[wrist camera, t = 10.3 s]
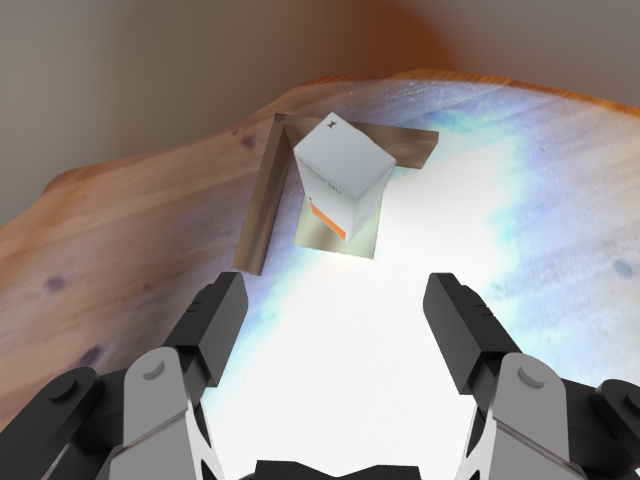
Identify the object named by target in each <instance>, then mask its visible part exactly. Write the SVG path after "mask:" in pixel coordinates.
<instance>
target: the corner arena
mask: <svg viewBox="0 0 640 480" xmlns="http://www.w3.org/2000/svg"><path fill="white" fill-rule="evenodd" d="M323 120H324V119H322V118H313V117H304V116H296V115H287V114H278V113H276V114H275V117H274V121H273V124H272V128H271V131H270V135H269V138H268V142H267V145H266V149H265V152H264V156H263V159H262V163H261V166H260V170H259V173H258V177H257V180H256V184H255V187H254V191H253V194H252V198H251V201H250V205H249V208H248V212H247V215H246V219H245V222H244V226H243V229H242V233H241V236H240V240H239V243H238V247H237V250H236V254H235V257H234V261H233V264H232V268H234V269H237V270H240V271H243V272H246V273H249V274H253V275H258V276H261V272H262V268H263V264H264V261H265V257H266V253H267V249H268V245H269V241H270V237H271V233H272V229H273V225H274V221H275V217H276V213H277V209H278V206H279V202H280V198H281V194H282V190H283V186H284V182H285V178H286V174H287V170H288V166H289V162H290V158H291V154H292V152H294V150H293V149H294V148H295V147H296V145H297V144H298V143H300V142H301V141H302V140H303V139H304V138H305V137H306V136H307V135H308V134H309V133H310V132H311V131H312V130H313V129H314V128H315V127H316V126H318V125H319V124H320V123H321V122H322V121H323ZM346 122H347V123H349V124H350V125H351V126H353V127H354V128H356V129H357V130H360V131H361V132H363V133H364V134H365V135H366V136H368V137H369V138H370V139H371V140H372V141H373V142H374V143H375V144H376V145H378V146H379V147H381V148H382V149H383V150H385V151H386V152H387V153H389V154H390V155H391V156H393V157H394V158H395V159H396V164H395V166H401V167H409V168H416V169H421V168H422V167H423V165H424V164H425V162H426V160H427V159H428V157H429V156H430V154H431V152H432V151H433V149H434V148H435V146H436V144H437V143H438V137H439V132H435V131H426V130H418V129H409V128H400V127H392V126H383V125H374V124H365V123H357V122H348V121H346ZM382 194H383V193H382ZM381 201H382V195H381V197H380V199H379V202H378V204H377V206H376V209H375V211H374V213H373V216H372V218H371V219H370V220H369V221H368V222H367V224H366V225H365V226H364V227H363V228H362V229H361V230H360V231H359V232H358V233H357V234H356V235H355V236H354V237H353V238H352V239H351V240H350V241H349V242H348V243H346V242H345V241H344V240H343V239H342V238H340V237H339V236H338V235H337V234H336V233H335V232H334V231H333V230H332V229H331V228H330V227H328V226H327V225H326V224H325V223H324V222H323V221H321V220H320V219H319V218H318V217H317V216H316V215H315V214H313V213H312V212H311V211H310V208H309V205H308V201H307V197H306V194H305V195H304V200H303V204H302V209H301V213H300V217H299V222H298V226H297V230H296V235H295V239H294V243H293V245H295V246H300V247H306V248H311V249H317V250H323V251H328V252H334V253H340V254H345V255H351V256H356V257H362V258H368V259H373V256H374V249H375V242H376V235H377V228H378V221H379V214H380V208H381Z"/></svg>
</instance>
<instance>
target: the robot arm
mask: <svg viewBox="0 0 640 480" xmlns="http://www.w3.org/2000/svg"><path fill="white" fill-rule="evenodd" d="M247 310H248V296H247V292H246V288H245V284H244V280H243V276H242V274H241V273H240V272H222V273H221V274H220V275H219V277H218V278H217V280H216V281H215V283H214V284H208V285H207V286H206V287H205V288H203V289H202V290H201V291H200V292H198V294H197V295H196V297H195V298H194V300H193V301H192V304H190V306H189V307H188V308H187V310H186V313H184V314H183V316H182V317H181V319H180V320H179V322H178V323H177V325H176V326H175V327H174V329H173V330H172V332H171V333H170V335H169V336H168V338H167V339H166V341H165V342H164V344H163V345H162V346H161V347H160V348H156V349H154V350H151V351H149V352H147V353H146V354H144V355H142V356H141V357H140V358H138V359H137V360H136V361H135V362H134V363H133V364H132V365H131V367H130V368H127V369H124V370H120V371H116V372H112V373H109V374H105V375H101V376H99V375H98V374H97V373H96V371H95V370H94V369H92V368H90V367H80V368H76V369H73V370H70V371H68V372H66V373H64V374H62V375H60V376H58V377H57V378H55V379H54V380H52V381H51V382H50V383H48V384H47V385H46V386H45V387H44V388H42V389H41V390H40V391H39V392H38V394H37V395H36V396H35V397H34V398H33V399H32V400H31V401H30V402H29V403H28V404H27V405H26V406H25V407H24V408H23V409H22V411H21V412H20V413H19V414H18V415H17V416H16V417H15V418H14V419H13V420H12V421H11V422H10V423H9V424H8V425H7V426H6V428H5V429H4V430H3V431H2V432H1V433H0V480H225V478H224V474H223V471H222V468H221V466H220V463H219V461H218V458H217V455H216V452H215V448H214V444H213V440H212V436H211V432H210V428H209V424H208V420H207V416H206V412H205V409H204V405H203V401H202V398H201V397H202V395H203V393H204V390H205V388H206V387H218V384H219V382H220V379H221V377H222V374H223V371H224V369H225V366H226V364H227V361H228V359H229V356H230V354H231V351H232V349H233V346H234V344H235V341H236V338H237V336H238V333H239V331H240V328H241V326H242V323H243V321H244V318H245V316H246V313H247ZM423 310H424V314H425V316H426V319H427V321H428V323H429V325H430V328H431V330H432V332H433V335H434V337H435V339H436V342H437V344H438V346H439V348H440V351H441V353H442V355H443V358H444V360H445V362H446V364H447V367H448V369H449V371H450V374H451V376H452V378H453V380H454V383H455V385H456V387H457V390H458V392H459V394H460V395H473V397H474V399H475V401H476V405H475V407H474V411H473V415H472V419H471V423H470V428H469V432H468V436H467V440H466V444H465V448H464V452H463V456H462V460H461V463H460V466H459V469H458V471H457V474H456V476H455V479H454V480H640V477H639V475H638V474H637V473H636V471H635V470H636V469H638V468H640V387H639V386H636V385H634V384H632V383H629V382H626V381H622V380H617V379H609V380H606V381H604V382H603V383H602V384H601V385H600V386H599V387H598V388H594V387H591V386H587V385H584V384H580V383H577V382H573V381H570V380H566V379H563V378H560V377H559V376H558V375H557V374H556V373H555V372H554V371H553V370H552V369H551V368H550V367H549V366H547V365H546V364H544V363H543V362H541V361H540V360H538V359H536V358H534V357H532V356H529V355H526V354H523V353H522V351H521V350H520V349H519V347H518V346H517V345H516V343H515V342H514V341H513V340H512V338H511V337H510V336H509V334H508V333H507V332H506V330H505V329H504V328H503V326H502V325H501V324H500V322H499V321H498V320H497V318H496V317H495V316H493V313H492V312H491V310H490V309H489V308H488V307H486V304H485V303H484V301H483V300H482V299H481V297H480V296H479V295H478V294H477V293H476V292H474V291H473V290H472V289H470V288H469V287H468V286H466V285H461V284H460V283H459V281H458V280H457V279H456V277H455V276H454V274H452V273H431V274H430V276H429V279H428V283H427V287H426V291H425V295H424V299H423ZM66 444H69V445H70V447H69V449H68V450H67V452H66V453H65V454H64V456H63V457H62V459H61V460H60V462H59V463H58V464H57V465H55V466H53V467H51V468H50V466H51V465H52V464H53V462H54V461H55V459H56V458H57V457H58V455H59V454H60V452H61V451H62V450H63V448H64V447H65V446H66ZM49 468H50V469H49ZM239 480H421V476H420V472H419V468H418V466H396V465H375V466H372V467H369V468H366V469H363V470H360V471H357V472H354V473H351V474H348V475H345V476H342V477H333V476H330V475H328V474H325V473H323V472H320V471H318V470H315V469H313V468H310V467H308V466H305V465H303V464H301V463H298V462H293V461H268V460H257V464H256V469H255V473H252V474H249V475H247V476H245V477H243V478H241V479H239Z"/></svg>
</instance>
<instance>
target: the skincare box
mask: <svg viewBox="0 0 640 480" xmlns="http://www.w3.org/2000/svg"><path fill="white" fill-rule="evenodd" d="M293 150H294V154H295V158H296V161H297V165H298V168H299V172H300V176H301V179H302V183H303V187H304V190H305V194H306V197H307V201H308V205H309V208H310V211H311V212H312V213H313V214H315V215H316V216H317V217H318V218H319V219H320V220H321V221H323V222H324V223H325V224H326V225H327V226H328V227H330V228H331V229H332V230H333V231H334V232H335V233H336V234H337V235H338V236H339V237H340V238H342V239H343V240H344V241H345V242H346V243H348V242H349V241H350V240H351V239H352V238H353V237H354V236H355V235H356V234H357V233H358V232H359V231H360V230H361V229H362V228H363V227H364V226H365V225H366V224H367V222H368V221H369V220H370V219H371V218H372V216H373V213H374V211H375V209H376V206H377V204H378V202H379V199H380V197H381V195H382V193H383V190H384V188H385V186H386V183H387V181H388V179H389V177H390V174H391V172H392V170H393V168H394V166H395V164H396V159H395V158H394V157H393V156H391V155H390V154H389V153H387V152H386V151H385V150H383V149H382V148H381V147H379V146H378V145H376V144H375V143H374V142H373V141H372V140H371V139H370V138H369V137H368V136H366V135H365V134H364V133H363V132H361V131H360V130H357V129H356V128H354V127H353V126H351V125H350V124H349V123H347V122H346V121H344V120H343V119H342V118H340V117H339V116H338V115H336V114H335V113H334V112H331V113H330V114H329V115H328V116H327V117H326V118H325V119H324V120H323V121H322V122H321V123H320V124H319V125H318V126H316V127H315V128H314V129H313V130H312V131H311V132H310V133H309V134H308V135H307V136H306V137H305V138H304V139H303V140H302V141H301V142H300V143H298V144H297V145H296V147H295V148H294V149H293Z"/></svg>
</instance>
